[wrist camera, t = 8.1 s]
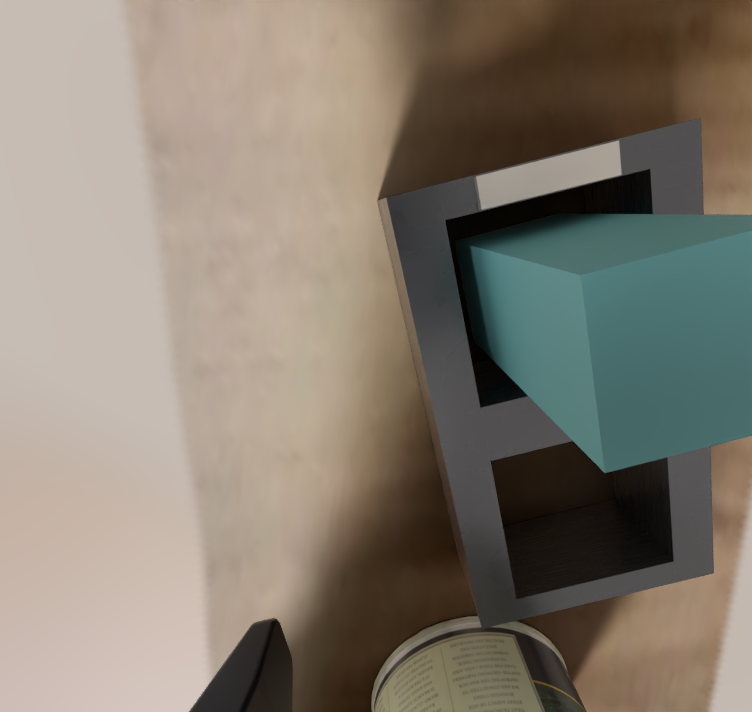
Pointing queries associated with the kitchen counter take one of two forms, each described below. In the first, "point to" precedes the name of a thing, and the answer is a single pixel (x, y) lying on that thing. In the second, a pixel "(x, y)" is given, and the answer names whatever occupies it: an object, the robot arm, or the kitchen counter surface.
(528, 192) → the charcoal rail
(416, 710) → the coffee can
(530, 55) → the kitchen counter surface
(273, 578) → the kitchen counter surface
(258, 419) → the kitchen counter surface
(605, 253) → the teal peg
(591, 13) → the kitchen counter surface
